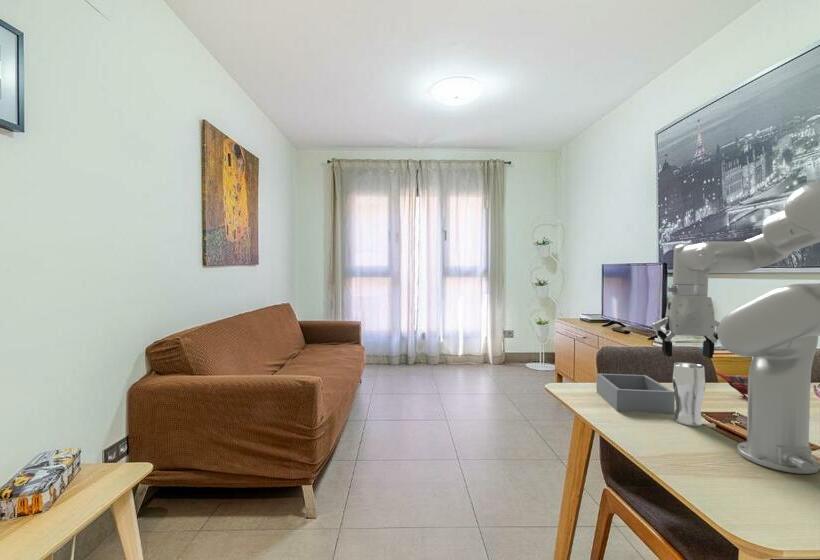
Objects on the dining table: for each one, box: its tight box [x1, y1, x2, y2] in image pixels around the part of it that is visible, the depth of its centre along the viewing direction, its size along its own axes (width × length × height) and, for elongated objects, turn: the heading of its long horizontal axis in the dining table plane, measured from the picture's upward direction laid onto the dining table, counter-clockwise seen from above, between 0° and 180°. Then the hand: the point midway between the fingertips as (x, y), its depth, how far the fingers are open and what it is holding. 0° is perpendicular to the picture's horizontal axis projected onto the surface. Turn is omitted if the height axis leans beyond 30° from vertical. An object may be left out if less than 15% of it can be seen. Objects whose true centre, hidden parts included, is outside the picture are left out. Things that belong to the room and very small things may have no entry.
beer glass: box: [672, 362, 706, 427], centre depth 104 cm, size 7×7×15 cm
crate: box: [596, 373, 675, 415], centre depth 120 cm, size 18×15×6 cm
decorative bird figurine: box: [713, 370, 749, 401], centre depth 124 cm, size 3×18×10 cm, turn 13°
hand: (687, 356), depth 105 cm, fingers open, 9 cm apart
